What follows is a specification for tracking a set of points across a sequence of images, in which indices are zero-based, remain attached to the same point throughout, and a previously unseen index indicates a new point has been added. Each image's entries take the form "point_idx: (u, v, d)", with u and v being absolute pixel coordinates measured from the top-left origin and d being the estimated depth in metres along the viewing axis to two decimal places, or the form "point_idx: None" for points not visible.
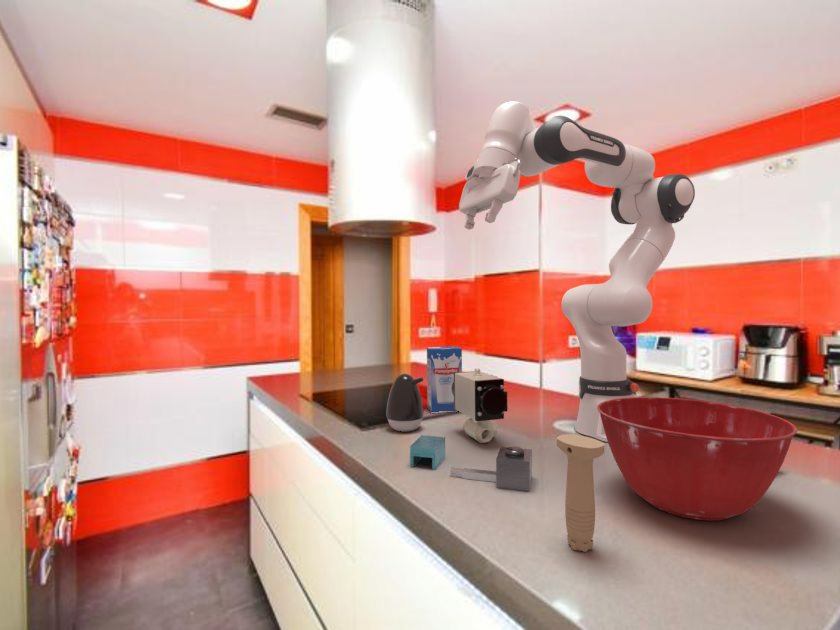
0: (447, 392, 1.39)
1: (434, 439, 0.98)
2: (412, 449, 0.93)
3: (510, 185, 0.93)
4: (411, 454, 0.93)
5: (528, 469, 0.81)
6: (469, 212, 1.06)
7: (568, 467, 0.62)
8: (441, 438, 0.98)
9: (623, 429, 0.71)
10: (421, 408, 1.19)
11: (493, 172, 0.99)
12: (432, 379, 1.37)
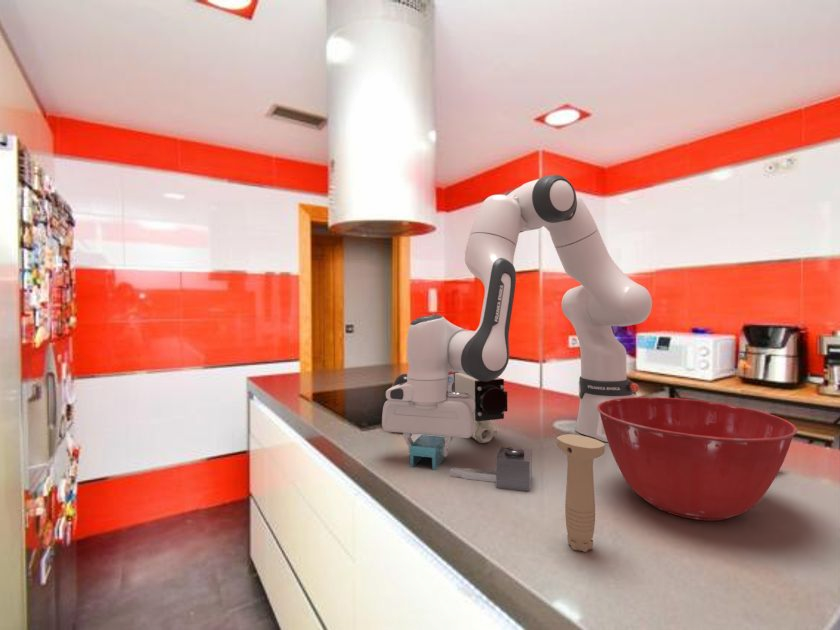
0: None
1: (434, 439, 0.98)
2: (412, 449, 0.93)
3: (473, 425, 0.93)
4: (411, 454, 0.93)
5: (528, 469, 0.81)
6: (409, 435, 0.97)
7: (568, 467, 0.62)
8: (441, 438, 0.98)
9: (623, 429, 0.71)
10: None
11: (440, 405, 0.93)
12: None
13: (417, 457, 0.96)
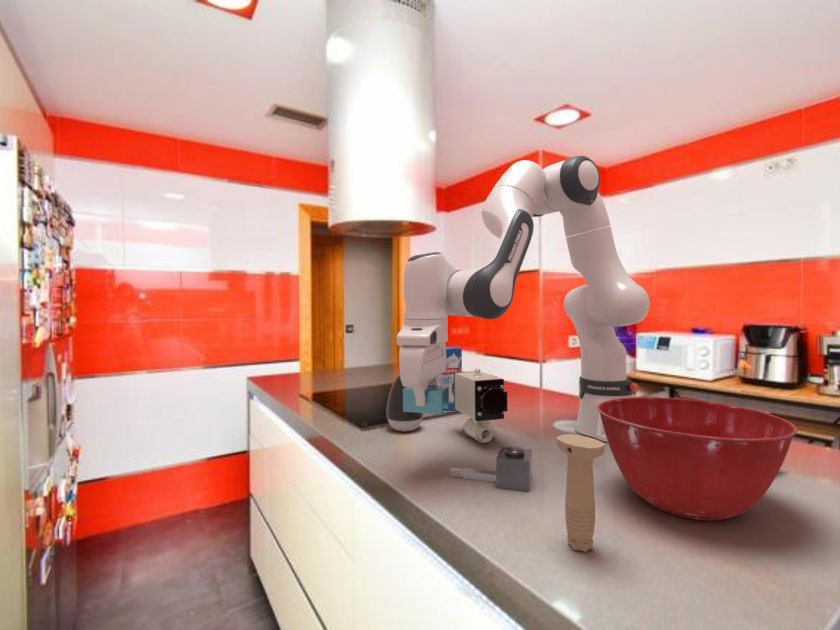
0: None
1: None
2: (442, 394, 0.86)
3: None
4: (442, 399, 0.86)
5: (528, 469, 0.81)
6: None
7: (568, 467, 0.62)
8: None
9: (623, 429, 0.71)
10: None
11: None
12: None
13: None
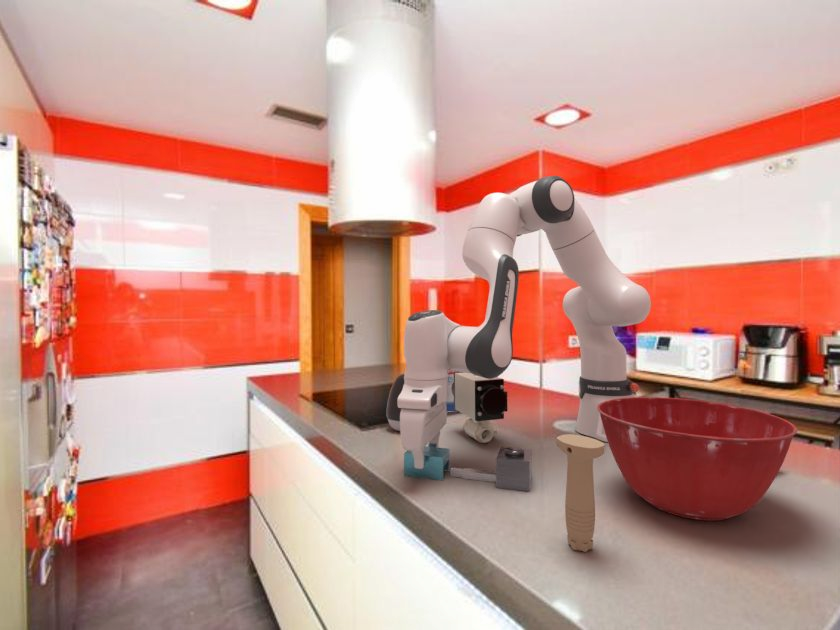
0: None
1: None
2: (443, 460, 0.87)
3: None
4: (443, 465, 0.87)
5: (528, 469, 0.81)
6: None
7: (568, 467, 0.62)
8: None
9: (623, 429, 0.71)
10: None
11: None
12: None
13: None
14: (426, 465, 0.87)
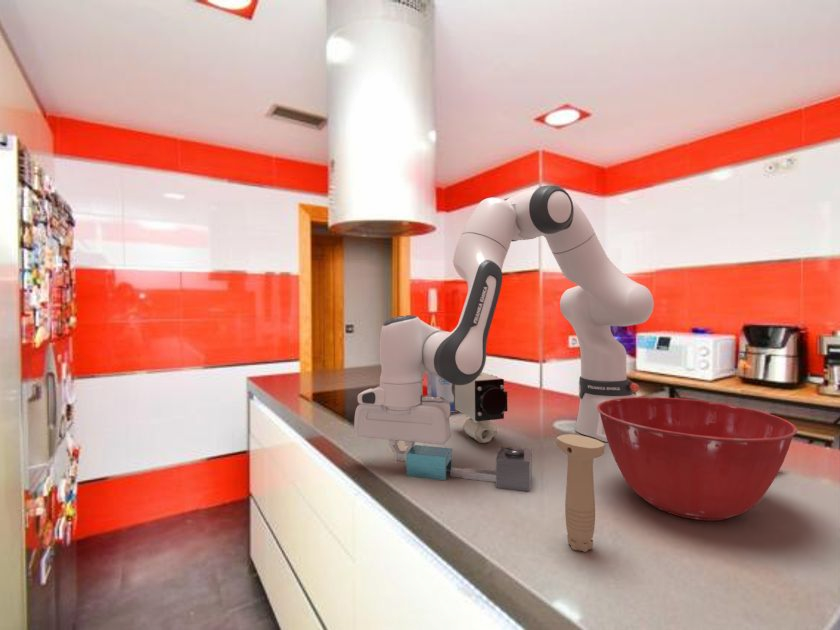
0: (447, 392, 1.39)
1: (422, 448, 0.91)
2: (446, 459, 0.87)
3: (448, 431, 0.88)
4: (445, 465, 0.86)
5: (528, 469, 0.81)
6: (395, 442, 0.92)
7: (568, 467, 0.62)
8: (419, 446, 0.93)
9: (623, 429, 0.71)
10: None
11: (414, 410, 0.89)
12: (432, 379, 1.37)
13: None
14: (429, 465, 0.87)
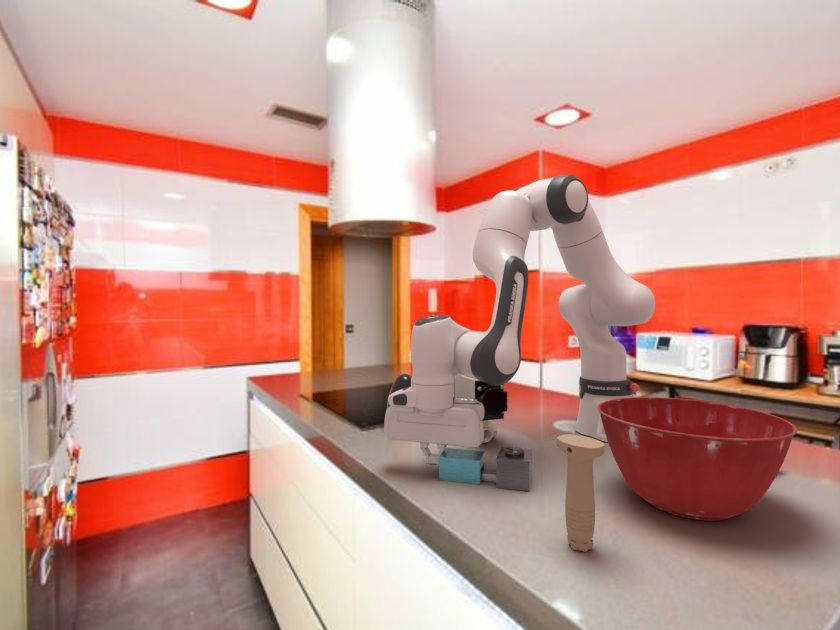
0: None
1: (454, 451, 0.89)
2: (480, 463, 0.85)
3: (482, 434, 0.86)
4: (480, 469, 0.84)
5: (528, 469, 0.81)
6: (426, 445, 0.89)
7: (568, 467, 0.62)
8: (450, 449, 0.91)
9: (623, 429, 0.71)
10: None
11: (447, 412, 0.87)
12: None
13: None
14: (462, 468, 0.85)
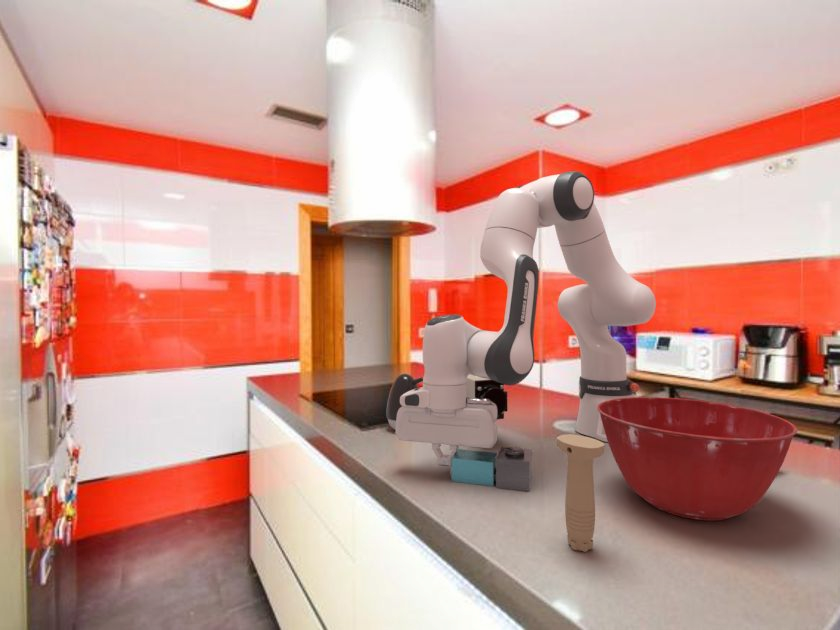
0: None
1: (467, 453, 0.88)
2: (493, 464, 0.84)
3: (495, 434, 0.85)
4: (493, 470, 0.83)
5: (528, 469, 0.81)
6: (439, 446, 0.89)
7: (568, 467, 0.62)
8: (462, 450, 0.90)
9: (623, 429, 0.71)
10: None
11: (460, 412, 0.86)
12: None
13: None
14: (475, 470, 0.84)
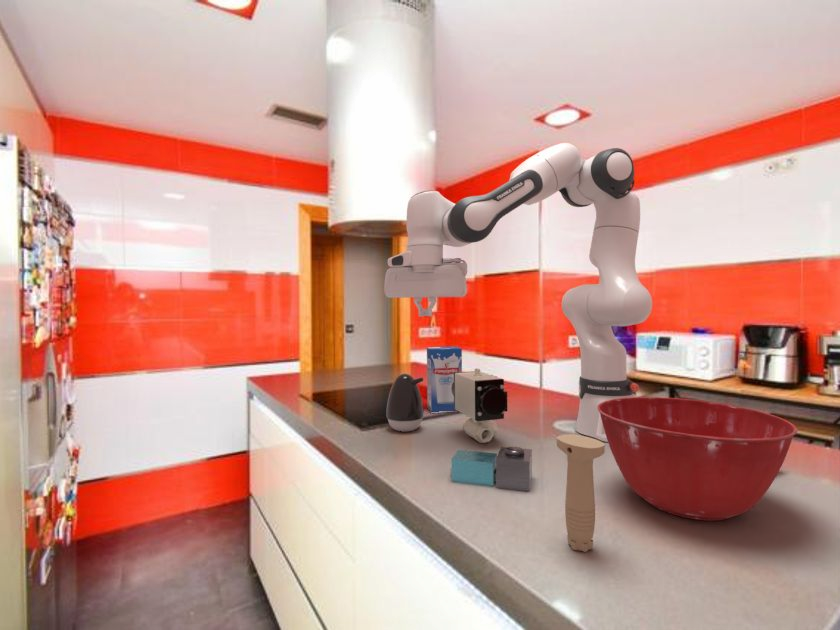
0: (447, 392, 1.39)
1: (467, 453, 0.88)
2: (493, 465, 0.84)
3: (465, 286, 1.04)
4: (493, 471, 0.83)
5: (528, 469, 0.81)
6: (419, 300, 1.08)
7: (568, 467, 0.62)
8: (462, 451, 0.90)
9: (623, 429, 0.71)
10: (421, 408, 1.19)
11: (436, 269, 1.05)
12: (432, 379, 1.37)
13: None
14: (475, 471, 0.84)
